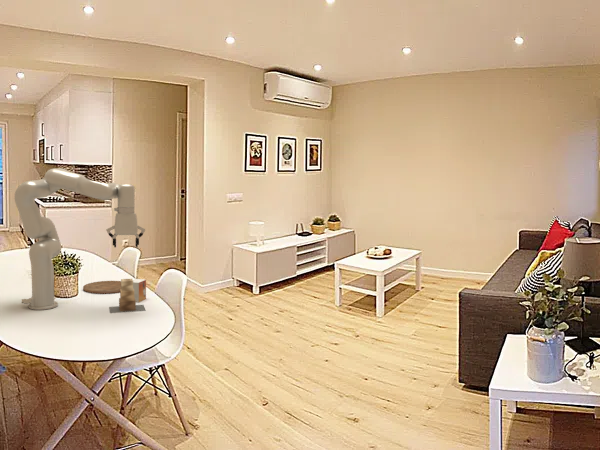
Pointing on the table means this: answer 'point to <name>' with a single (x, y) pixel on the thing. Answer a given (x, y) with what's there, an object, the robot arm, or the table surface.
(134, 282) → the small box
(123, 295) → the oak block
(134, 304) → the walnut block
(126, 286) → the maple cube
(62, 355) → the table surface
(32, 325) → the table surface
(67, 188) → the robot arm
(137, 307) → the slate mat
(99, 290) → the trivet
